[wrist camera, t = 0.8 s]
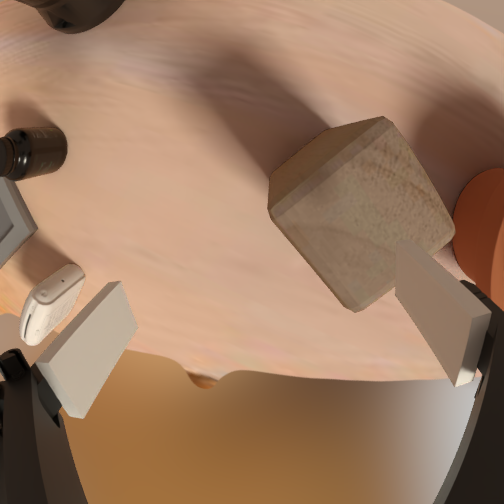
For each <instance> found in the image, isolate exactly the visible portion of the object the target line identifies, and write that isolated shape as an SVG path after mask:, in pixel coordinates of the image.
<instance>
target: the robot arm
mask: <svg viewBox="0 0 504 504" xmlns="http://www.w3.org/2000/svg"><path fill="white" fill-rule="evenodd" d="M16 1H18V2H21V3H24V4H26V5H29V6H32V7H34V8H36V10H37V11H38V12H39V13H40V15H41V16H42V17H43V19H44V20H45V21H46V22H47V24H48V25H49V26H50V27H52V28H53V29H55V30H58V31H60V32H63V33H67V34H75V33H81V32H84V31H87V30H89V29H91V28H93V27H95V26H97V25H99V24H100V23H102V22H103V21H104V20H106V19H107V18H108V17H110V16H111V15H112V14H113V13H114V12H115V11H116V10H117V9H118V8H119V7H120V6H121V4H122V3H123V2H124V0H16ZM395 243H396V281H395V296H396V297H397V298H398V300H399V301H400V303H401V304H402V306H403V307H404V308H405V310H406V311H407V313H408V314H409V316H410V317H411V319H412V320H413V322H414V323H415V325H416V326H417V328H418V329H419V331H420V332H421V334H422V335H423V337H424V338H425V340H426V341H427V343H428V345H429V346H430V348H431V349H432V351H433V352H434V354H435V356H436V357H437V359H438V360H439V362H440V364H441V365H442V367H443V369H444V370H445V372H446V373H447V375H448V377H449V378H450V380H451V382H452V383H453V385H454V387H457V386H460V385H463V384H466V383H469V382H471V381H473V379H474V376H475V373H476V370H477V368H478V369H479V370H480V372H481V373H482V378H481V381H480V383H479V386H478V389H477V391H476V394H475V402H474V405H473V408H472V411H471V415H470V418H469V421H468V424H467V427H466V429H465V432H464V435H463V438H462V440H461V443H460V446H459V448H458V451H457V453H456V456H455V458H454V460H453V463H452V465H451V467H450V470H449V472H448V474H447V476H446V479H445V481H444V483H443V485H442V487H441V489H440V491H439V493H438V495H437V497H436V499H435V501H434V503H433V504H504V311H503V310H502V309H501V308H500V307H499V306H497V305H496V304H495V303H494V302H493V301H492V300H491V299H490V298H488V296H487V295H486V294H484V293H483V292H482V291H481V290H480V289H479V288H478V287H477V286H476V285H474V284H472V283H470V282H468V281H465V280H461V281H458V280H457V279H456V278H455V277H454V276H453V275H452V274H451V273H450V272H448V271H447V270H446V269H445V268H444V267H443V266H442V265H440V264H439V263H438V262H437V261H436V260H435V259H433V258H432V257H431V256H430V255H429V254H428V253H426V252H425V251H424V250H423V249H422V248H420V247H419V246H418V245H417V244H416V243H414V242H413V241H412V240H411V239H408V240H401V241H395ZM137 329H138V326H137V323H136V321H135V318H134V315H133V313H132V310H131V307H130V305H129V302H128V299H127V296H126V294H125V291H124V288H123V285H122V282H121V281H116V282H109V283H108V284H107V285H106V286H105V287H104V288H103V289H102V290H101V291H100V292H99V293H98V294H97V295H96V296H95V297H94V298H93V299H92V300H91V301H90V302H89V303H88V304H87V305H86V306H85V307H84V308H83V309H82V310H81V311H80V313H79V314H78V315H77V316H76V317H75V318H74V319H73V320H72V321H71V322H70V323H69V324H68V325H67V326H66V328H65V329H64V330H63V331H62V332H61V333H60V334H59V335H58V336H57V337H56V338H55V340H54V341H53V342H52V343H51V344H50V345H49V346H48V347H47V349H46V350H45V351H44V352H43V353H42V354H41V355H40V357H39V358H38V359H37V360H36V361H35V363H34V364H33V365H32V366H31V368H30V366H29V364H28V363H27V361H26V359H25V357H24V356H23V354H22V352H21V350H20V349H11V350H8V351H6V352H4V353H3V354H2V355H0V373H1V374H2V376H3V377H4V379H5V381H1V382H0V504H88V502H87V500H86V497H85V494H84V491H83V488H82V485H81V483H80V479H79V476H78V473H77V470H76V467H75V464H74V460H73V457H72V453H71V450H70V446H69V442H68V439H67V434H66V430H65V425H64V421H63V418H62V416H61V414H60V413H59V410H60V408H61V407H62V406H63V407H64V409H65V411H66V412H67V413H68V415H69V416H71V417H77V418H83V419H84V417H85V415H86V414H87V412H88V410H89V408H90V407H91V405H92V403H93V401H94V400H95V398H96V396H97V394H98V393H99V391H100V389H101V388H102V386H103V384H104V383H105V381H106V379H107V377H108V376H109V374H110V373H111V371H112V369H113V368H114V366H115V364H116V363H117V361H118V359H119V358H120V356H121V354H122V353H123V351H124V350H125V348H126V346H127V345H128V343H129V342H130V340H131V338H132V337H133V335H134V334H135V332H136V330H137Z"/></svg>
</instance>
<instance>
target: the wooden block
mask: <svg viewBox="0 0 504 504" xmlns="http://www.w3.org/2000/svg"><path fill="white" fill-rule="evenodd" d="M267 209H268V212H269V215H270V218H271V220H272V221H273V223H274V224H275V225H276V226H277V227H278V228H279V230H280V231H281V232H282V233H283V234H284V235H285V237H286V238H287V239H288V240H289V241H290V242H291V244H292V245H293V246H294V247H295V248H296V250H297V251H298V252H299V253H300V254H301V255H302V257H303V258H304V259H305V260H306V261H307V263H308V264H309V265H310V266H311V267H312V269H313V270H314V271H315V272H316V273H317V275H318V276H319V277H320V278H321V279H322V281H323V282H324V283H325V284H326V285H327V287H328V288H329V289H330V290H331V292H332V293H333V294H334V295H335V296H336V298H337V299H338V300H339V301H340V303H341V304H342V305H343V306H344V307H345V308H347V309H349V310H351V311H353V312H354V313H356V312H359V311H362V310H364V309H365V308H367V307H368V306H370V305H371V304H372V303H374V302H375V301H376V300H378V299H379V298H380V297H382V296H383V295H384V294H386V293H387V292H388V291H390V290H391V289H392V288H393V287H395V281H396V243H395V241H401V240H408V239H411V240H412V241H413V242H414V243H416V244H417V245H418V246H419V247H420V248H422V249H423V250H424V251H425V252H426V253H428V254H429V255H430V256H431V257H432V256H433V255H434V254H435V253H437V252H438V251H439V250H440V249H441V248H442V247H444V246H445V245H446V244H447V243H448V242H449V241H450V240H452V238H453V236H454V234H455V233H456V232H455V225H454V223H453V220H452V218H451V217H450V215H449V213H448V211H447V209H446V207H445V205H444V203H443V201H442V200H441V198H440V196H439V194H438V192H437V191H436V189H435V187H434V185H433V184H432V182H431V180H430V179H429V177H428V175H427V174H426V172H425V170H424V169H423V167H422V165H421V164H420V162H419V161H418V159H417V157H416V156H415V154H414V153H413V151H412V150H411V148H410V147H409V145H408V144H407V142H406V141H405V139H404V138H403V136H402V135H401V133H400V132H399V131H398V129H397V128H396V126H395V125H394V123H393V122H391V121H390V120H388V119H387V118H385V117H384V116H381V117H376V118H372V119H367V120H363V121H359V122H355V123H351V124H347V125H343V126H339V127H335V128H331V129H327V130H325V131H323V132H322V133H321V134H319V135H318V136H317V137H316V138H314V139H313V140H312V141H311V142H309V143H308V144H307V145H306V146H304V147H303V148H302V149H301V150H299V151H298V152H297V153H296V154H294V155H293V156H292V157H291V158H290V159H288V160H287V161H286V162H285V163H283V164H282V165H281V166H280V167H279V168H277V169H276V170H275V171H274V172H273V173H272V174H271V176H270V179H269V193H268V207H267Z"/></svg>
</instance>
